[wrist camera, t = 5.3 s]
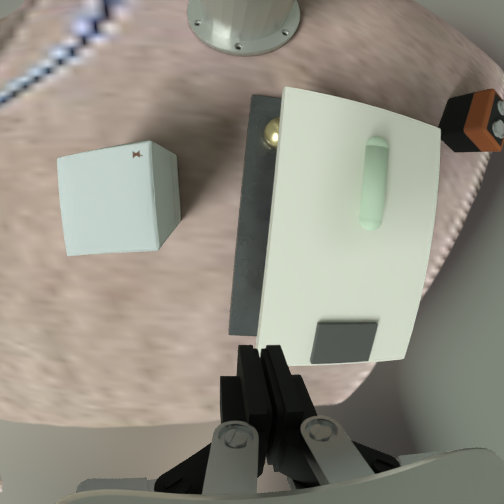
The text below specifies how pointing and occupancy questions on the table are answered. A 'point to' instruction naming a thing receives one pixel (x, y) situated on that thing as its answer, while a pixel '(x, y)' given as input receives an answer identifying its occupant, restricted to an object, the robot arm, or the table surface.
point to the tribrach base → (254, 214)
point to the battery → (474, 122)
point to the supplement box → (118, 198)
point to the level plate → (347, 230)
